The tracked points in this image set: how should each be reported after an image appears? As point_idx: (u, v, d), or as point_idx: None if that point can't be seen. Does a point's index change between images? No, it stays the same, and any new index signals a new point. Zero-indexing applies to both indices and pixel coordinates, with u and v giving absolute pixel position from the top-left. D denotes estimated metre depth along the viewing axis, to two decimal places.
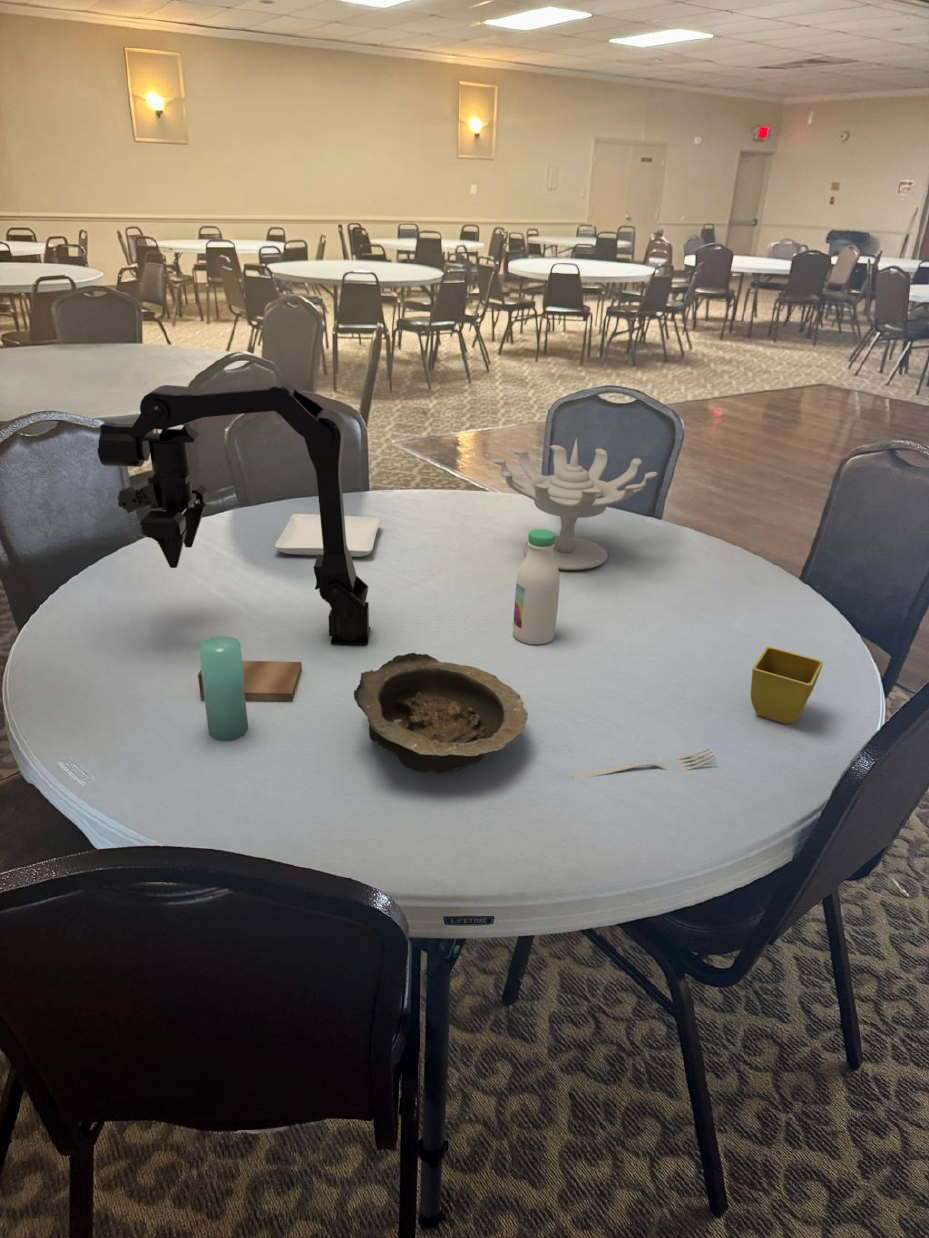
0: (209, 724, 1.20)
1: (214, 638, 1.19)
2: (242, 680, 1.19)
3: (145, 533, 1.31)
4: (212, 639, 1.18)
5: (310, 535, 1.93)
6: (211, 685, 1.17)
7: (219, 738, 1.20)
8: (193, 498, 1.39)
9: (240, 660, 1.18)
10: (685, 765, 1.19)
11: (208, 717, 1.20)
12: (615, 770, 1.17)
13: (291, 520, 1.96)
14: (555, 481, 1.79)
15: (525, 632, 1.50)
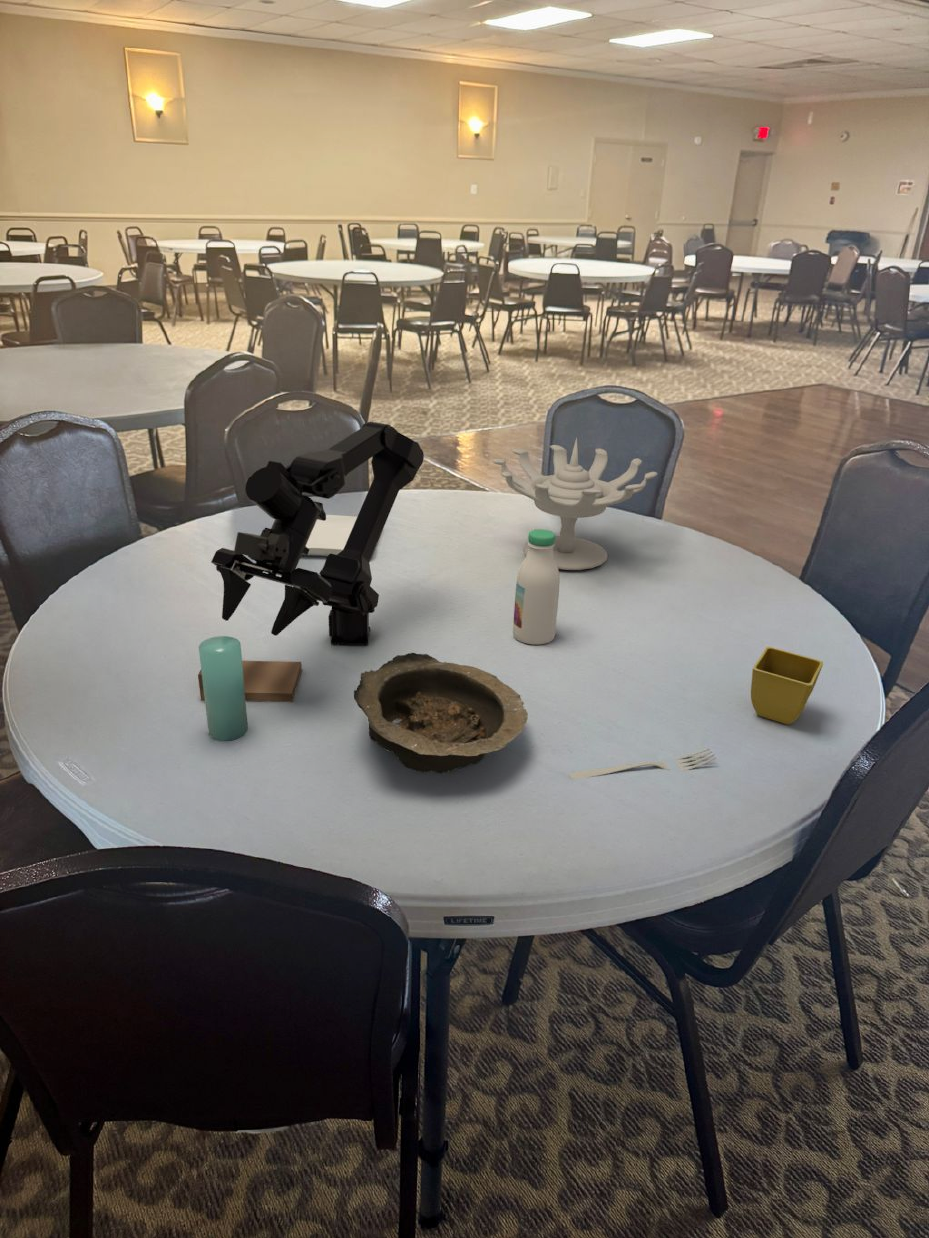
0: (209, 724, 1.20)
1: (214, 638, 1.19)
2: (242, 680, 1.19)
3: (313, 588, 1.20)
4: (212, 639, 1.18)
5: (310, 535, 1.93)
6: (211, 685, 1.17)
7: (219, 738, 1.20)
8: None
9: (240, 660, 1.18)
10: (685, 765, 1.19)
11: (208, 717, 1.20)
12: (615, 770, 1.17)
13: None
14: (555, 481, 1.79)
15: (525, 632, 1.50)
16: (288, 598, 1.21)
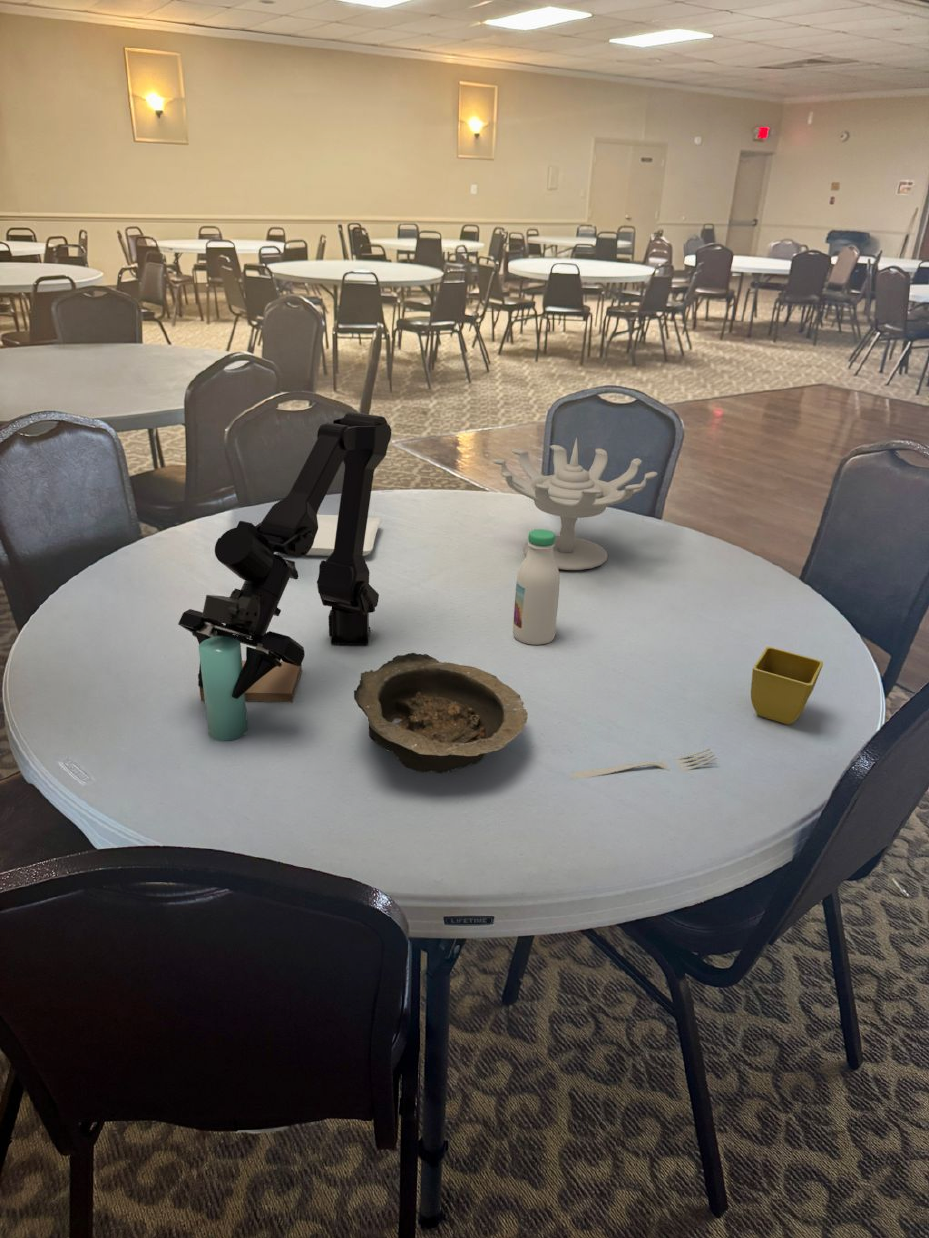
0: (209, 724, 1.20)
1: (214, 638, 1.19)
2: None
3: (286, 653, 1.15)
4: (212, 639, 1.18)
5: None
6: (211, 685, 1.17)
7: (219, 738, 1.20)
8: None
9: (240, 660, 1.18)
10: (685, 765, 1.19)
11: (208, 717, 1.20)
12: (615, 770, 1.17)
13: None
14: (555, 481, 1.79)
15: (525, 632, 1.50)
16: (250, 660, 1.17)
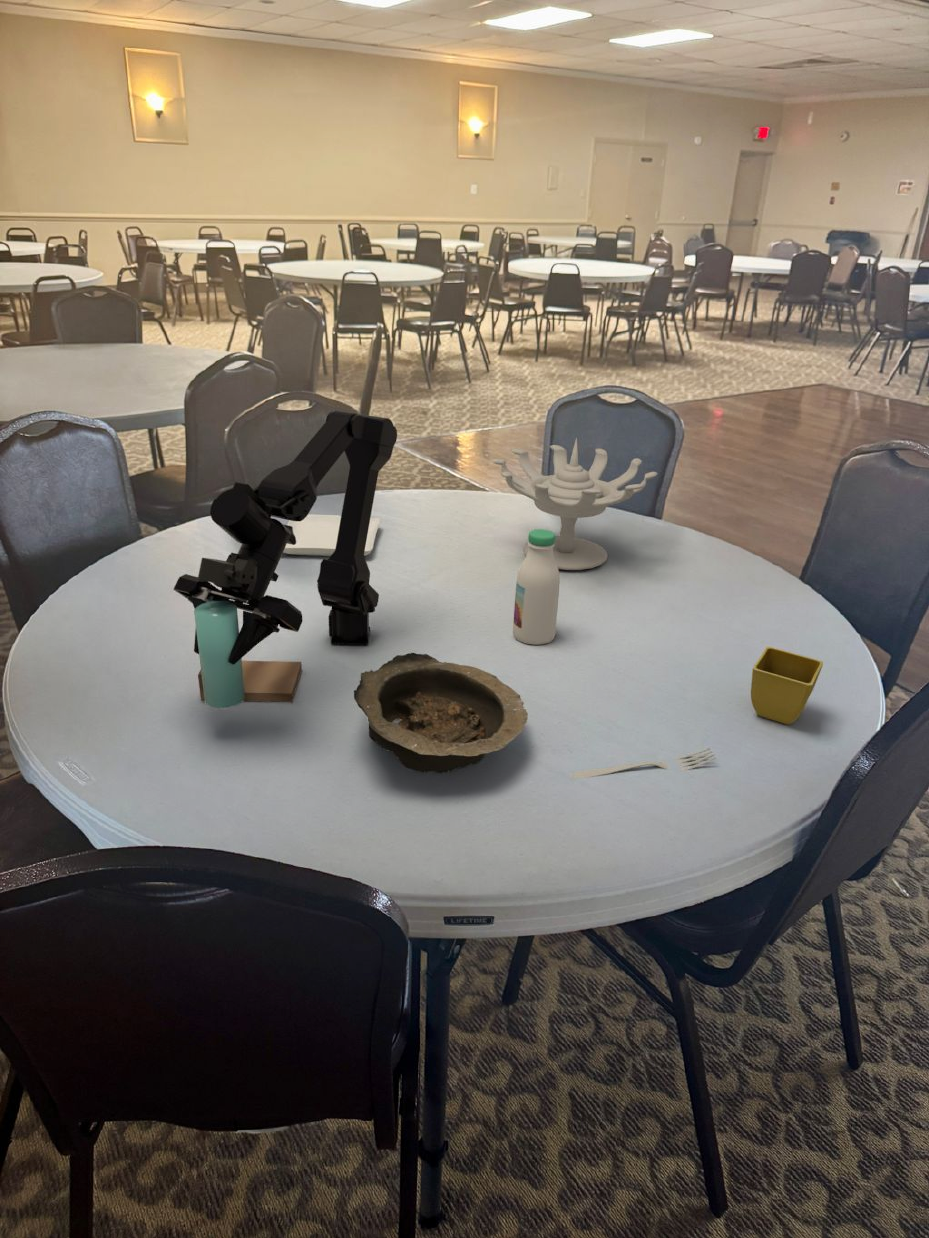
0: (205, 691, 1.18)
1: (210, 603, 1.16)
2: None
3: (283, 617, 1.13)
4: (208, 604, 1.16)
5: (310, 535, 1.93)
6: (207, 650, 1.14)
7: (215, 705, 1.18)
8: None
9: (236, 625, 1.15)
10: (685, 765, 1.19)
11: (204, 684, 1.17)
12: (615, 770, 1.17)
13: None
14: (555, 481, 1.79)
15: (525, 632, 1.50)
16: (246, 625, 1.15)
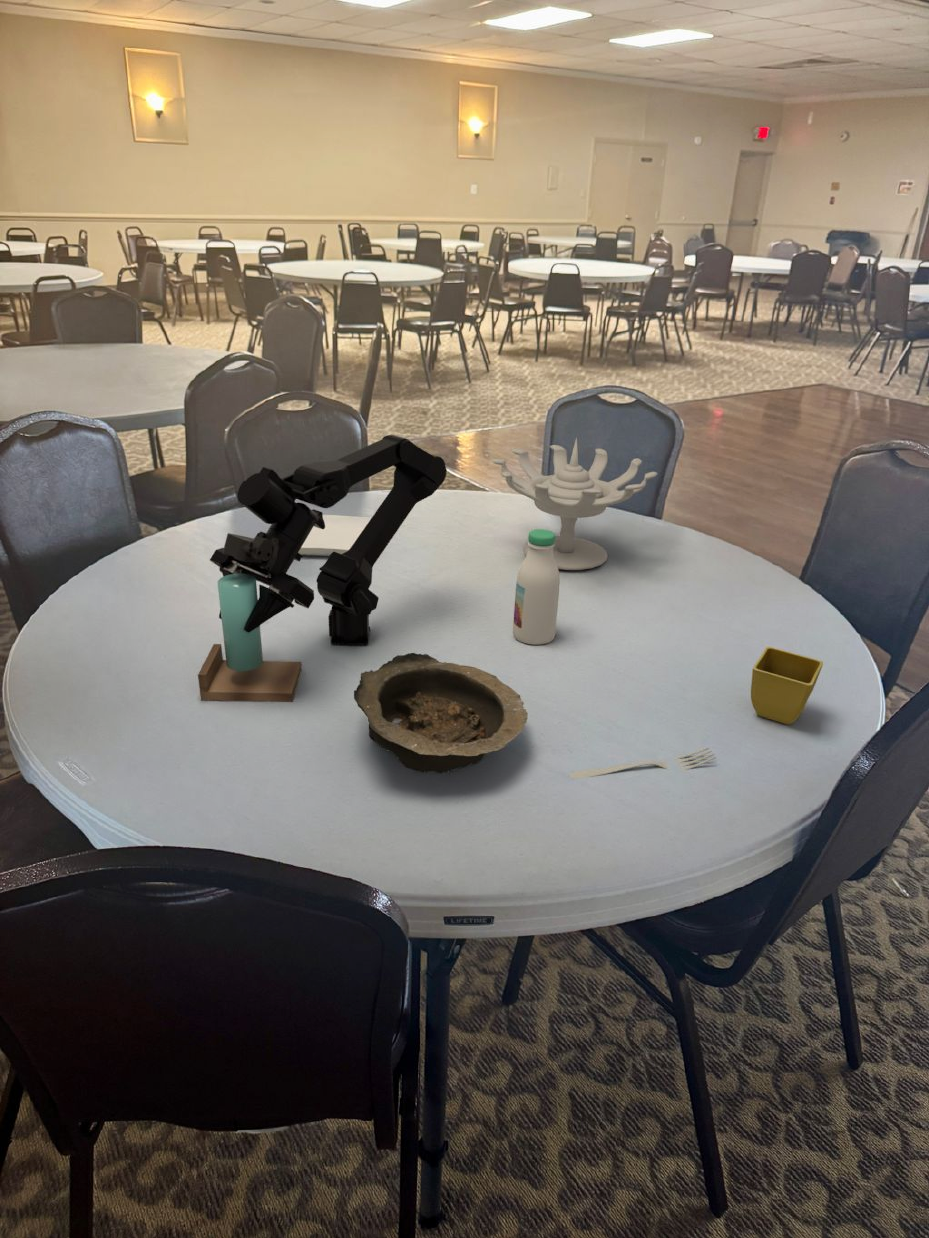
0: (226, 654, 1.30)
1: (235, 574, 1.28)
2: None
3: (291, 593, 1.23)
4: (233, 575, 1.28)
5: (310, 535, 1.93)
6: (226, 617, 1.26)
7: (233, 668, 1.30)
8: None
9: (254, 596, 1.26)
10: (685, 764, 1.19)
11: (225, 647, 1.30)
12: (616, 770, 1.17)
13: None
14: (555, 481, 1.79)
15: (525, 632, 1.50)
16: (262, 597, 1.26)
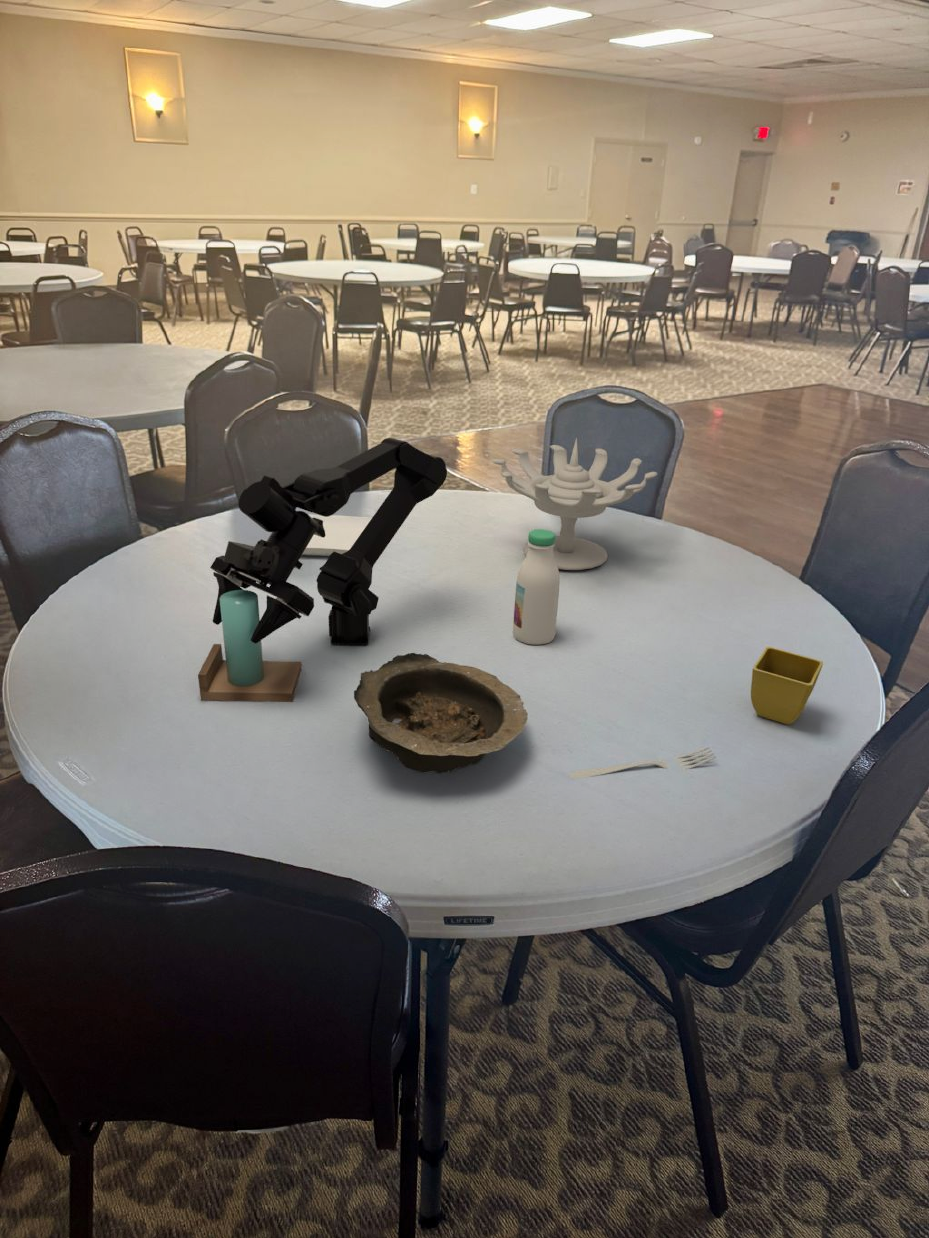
0: (227, 669, 1.31)
1: (237, 591, 1.29)
2: None
3: (292, 601, 1.23)
4: (235, 591, 1.29)
5: None
6: (228, 633, 1.27)
7: (234, 683, 1.31)
8: None
9: (256, 613, 1.28)
10: (685, 764, 1.19)
11: (226, 663, 1.31)
12: (616, 769, 1.17)
13: None
14: (555, 481, 1.79)
15: (525, 632, 1.50)
16: (269, 608, 1.25)
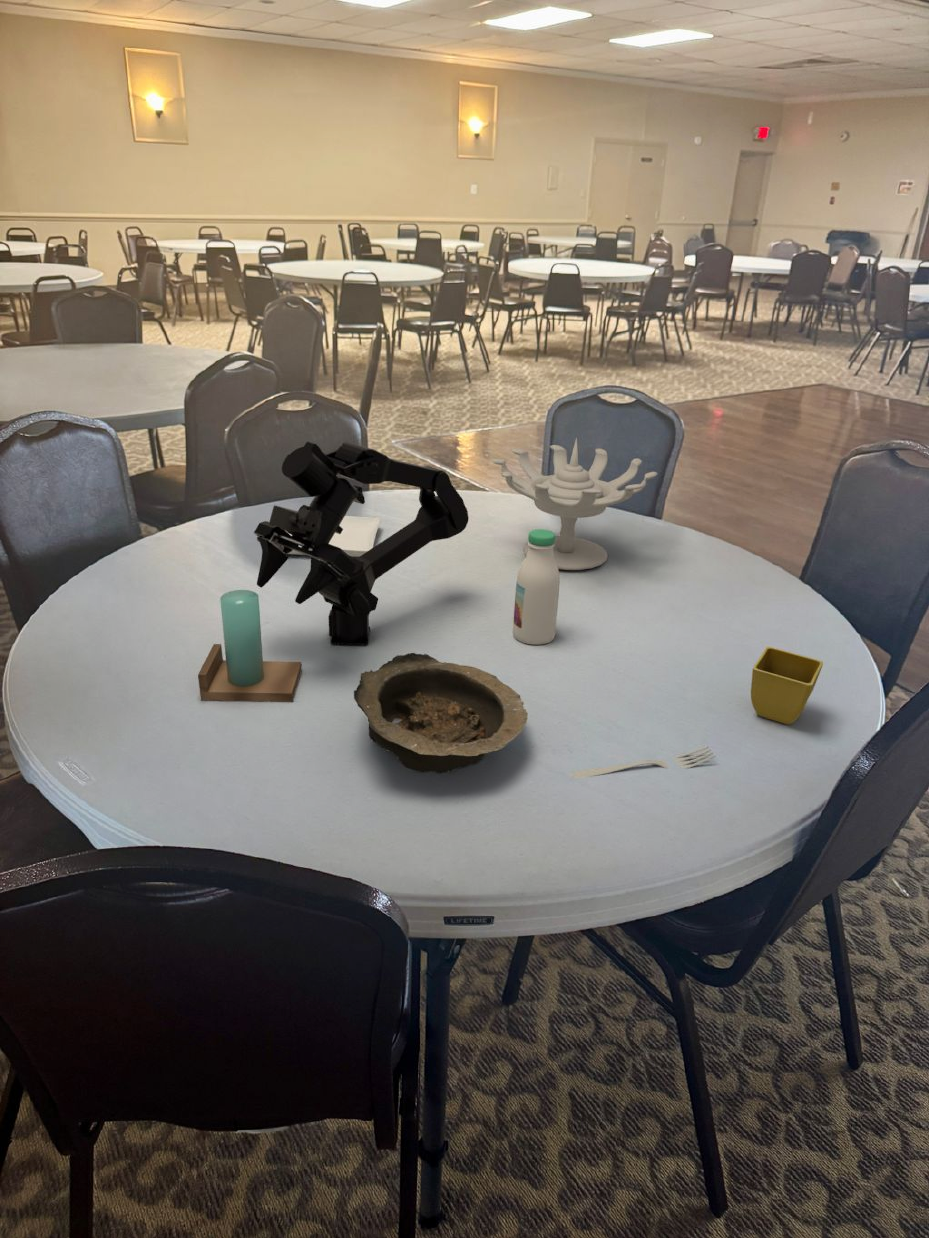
0: (227, 669, 1.31)
1: (238, 591, 1.29)
2: (257, 632, 1.29)
3: (335, 562, 1.28)
4: (235, 591, 1.29)
5: None
6: (228, 633, 1.27)
7: (234, 683, 1.31)
8: None
9: (256, 613, 1.28)
10: (685, 763, 1.20)
11: (226, 662, 1.31)
12: (616, 769, 1.17)
13: None
14: (555, 481, 1.79)
15: (525, 632, 1.50)
16: (313, 570, 1.30)
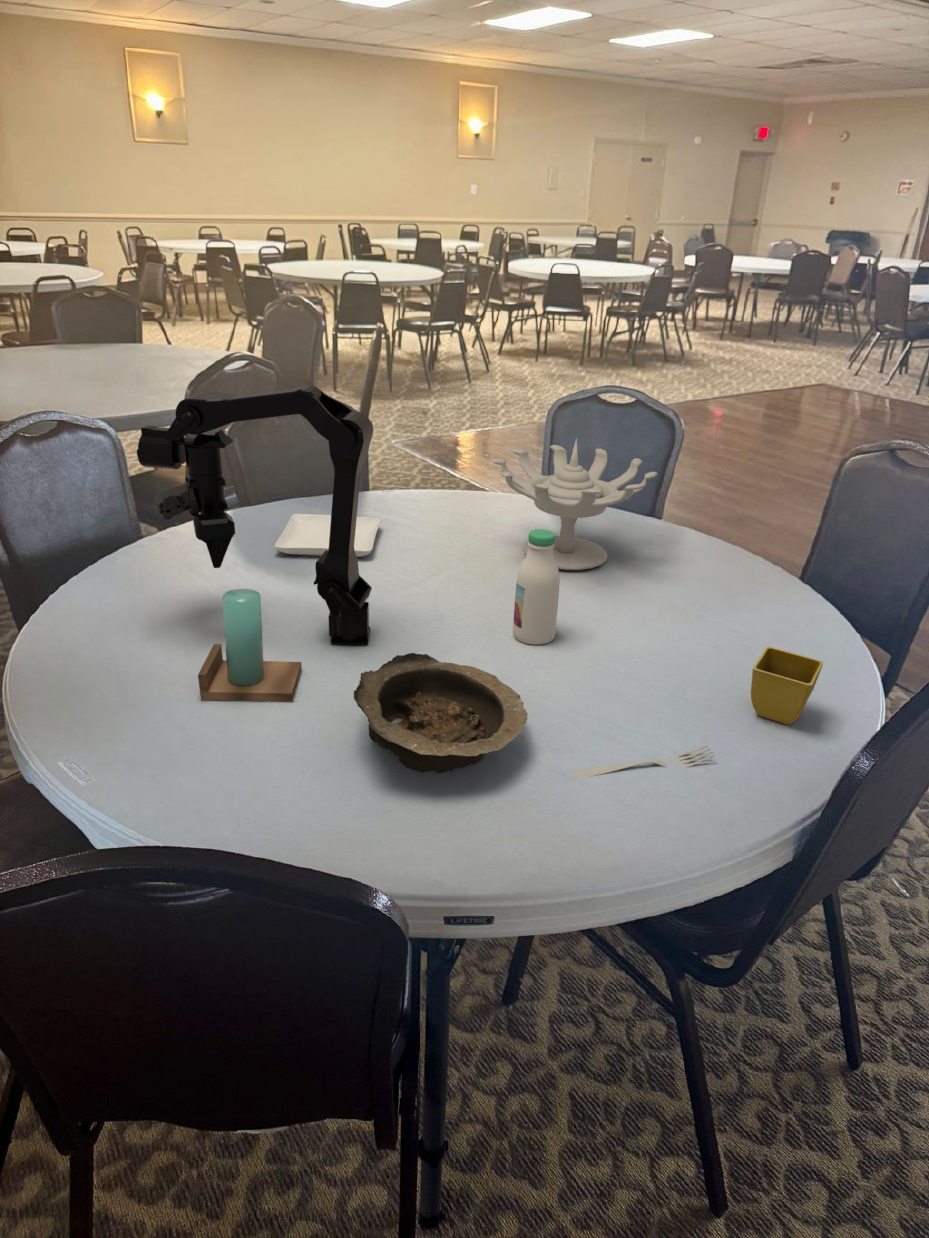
0: (227, 668, 1.31)
1: (240, 590, 1.30)
2: (258, 631, 1.29)
3: (202, 535, 1.35)
4: (238, 590, 1.30)
5: (310, 535, 1.93)
6: (229, 631, 1.28)
7: (233, 682, 1.31)
8: None
9: (257, 612, 1.28)
10: (684, 762, 1.20)
11: None
12: (616, 769, 1.17)
13: (291, 520, 1.96)
14: (555, 481, 1.79)
15: (525, 632, 1.50)
16: None
